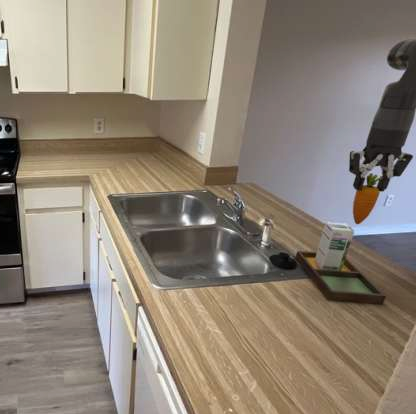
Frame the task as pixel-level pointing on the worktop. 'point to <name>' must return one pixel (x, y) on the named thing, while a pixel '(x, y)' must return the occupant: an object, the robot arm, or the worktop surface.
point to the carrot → (365, 199)
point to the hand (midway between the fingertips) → (368, 189)
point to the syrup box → (334, 246)
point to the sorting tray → (341, 281)
